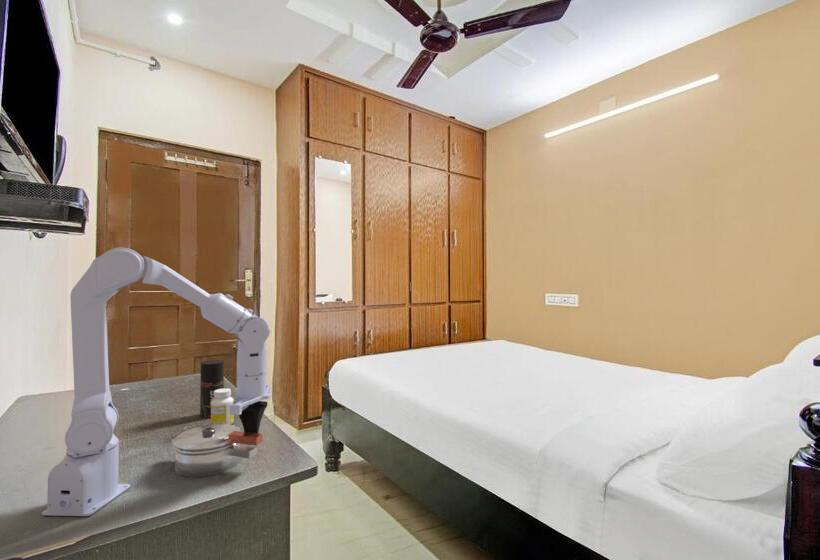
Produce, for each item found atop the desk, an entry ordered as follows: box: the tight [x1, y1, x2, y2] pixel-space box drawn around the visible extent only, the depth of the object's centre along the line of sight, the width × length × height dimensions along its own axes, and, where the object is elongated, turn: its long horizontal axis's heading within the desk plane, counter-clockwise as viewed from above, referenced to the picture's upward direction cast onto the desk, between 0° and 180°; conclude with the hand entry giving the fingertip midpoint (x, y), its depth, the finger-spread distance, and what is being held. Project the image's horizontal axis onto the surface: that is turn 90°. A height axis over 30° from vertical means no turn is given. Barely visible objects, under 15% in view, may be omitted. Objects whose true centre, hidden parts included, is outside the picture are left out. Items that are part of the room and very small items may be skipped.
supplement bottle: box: [210, 388, 235, 426], centre depth 104 cm, size 5×5×10 cm
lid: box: [174, 424, 263, 451], centre depth 83 cm, size 18×12×2 cm
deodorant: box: [199, 359, 225, 419], centre depth 114 cm, size 6×6×15 cm
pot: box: [171, 437, 258, 479], centre depth 83 cm, size 20×13×5 cm, turn 74°
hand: (251, 438), depth 83 cm, fingers closed, pressing on lid
